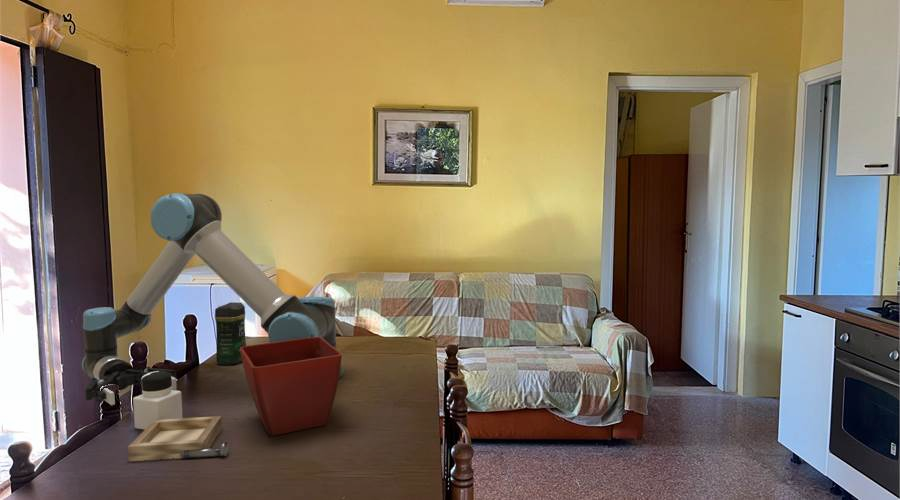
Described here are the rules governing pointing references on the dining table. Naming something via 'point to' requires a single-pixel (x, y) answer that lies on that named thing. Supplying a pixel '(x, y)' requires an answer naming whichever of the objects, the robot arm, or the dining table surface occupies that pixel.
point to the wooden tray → (174, 437)
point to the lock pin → (206, 452)
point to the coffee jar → (230, 332)
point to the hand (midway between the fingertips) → (145, 391)
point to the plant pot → (292, 382)
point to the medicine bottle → (156, 400)
